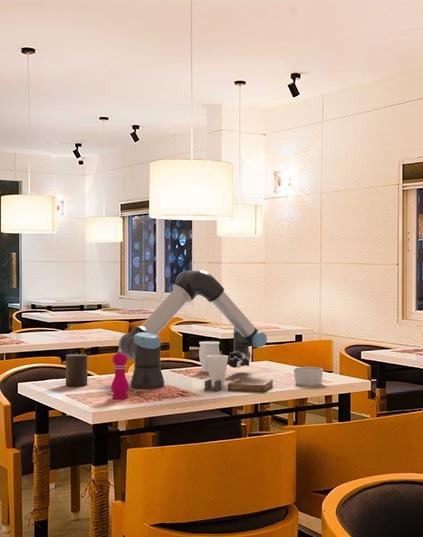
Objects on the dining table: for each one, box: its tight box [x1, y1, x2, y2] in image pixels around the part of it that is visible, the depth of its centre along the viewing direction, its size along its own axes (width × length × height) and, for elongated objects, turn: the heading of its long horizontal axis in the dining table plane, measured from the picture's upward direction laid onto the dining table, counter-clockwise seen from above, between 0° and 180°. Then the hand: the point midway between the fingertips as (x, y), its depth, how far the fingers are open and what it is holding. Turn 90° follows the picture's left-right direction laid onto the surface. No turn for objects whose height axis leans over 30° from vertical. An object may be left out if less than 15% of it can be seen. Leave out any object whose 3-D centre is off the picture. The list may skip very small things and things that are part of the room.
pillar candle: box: [65, 352, 88, 388], centre depth 342 cm, size 10×10×15 cm
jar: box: [198, 340, 221, 373], centre depth 384 cm, size 11×10×15 cm
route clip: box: [203, 378, 223, 392], centre depth 326 cm, size 6×6×4 cm
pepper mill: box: [110, 348, 130, 400], centre depth 307 cm, size 7×7×20 cm
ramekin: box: [293, 366, 324, 387], centre depth 341 cm, size 13×13×7 cm
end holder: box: [227, 378, 274, 393], centre depth 329 cm, size 16×16×3 cm
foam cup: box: [207, 354, 228, 387], centre depth 340 cm, size 10×9×13 cm
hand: (223, 364), depth 349 cm, fingers open, 13 cm apart
